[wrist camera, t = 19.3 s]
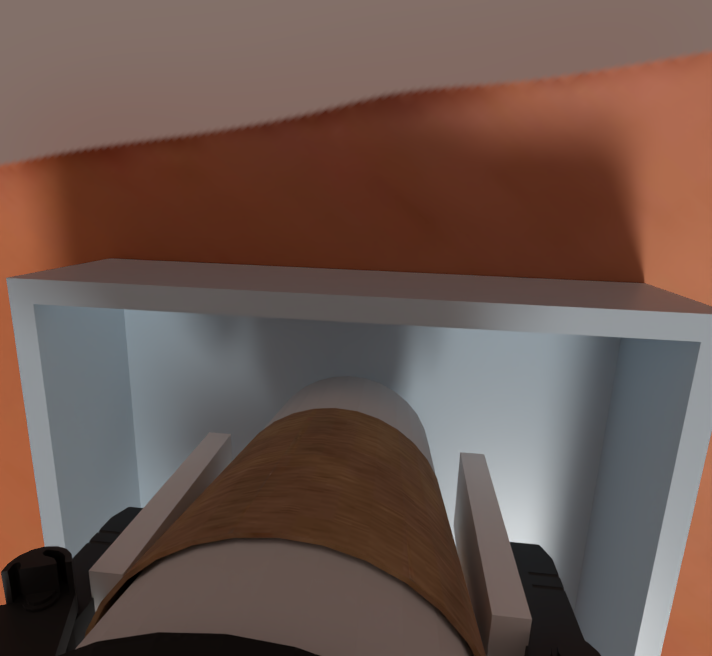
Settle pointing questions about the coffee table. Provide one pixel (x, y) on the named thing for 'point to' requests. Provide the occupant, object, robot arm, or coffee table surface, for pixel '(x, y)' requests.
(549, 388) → the tote
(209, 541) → the coffee cup
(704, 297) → the coffee table surface
